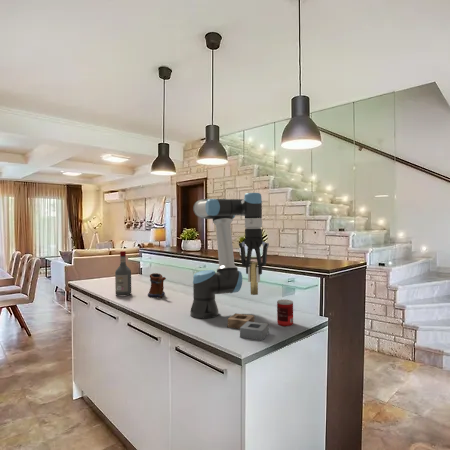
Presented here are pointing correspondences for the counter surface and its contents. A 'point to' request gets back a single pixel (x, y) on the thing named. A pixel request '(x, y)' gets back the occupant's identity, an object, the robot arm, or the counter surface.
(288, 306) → the canned food
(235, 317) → the block
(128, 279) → the liquor
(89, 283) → the counter surface
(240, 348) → the counter surface
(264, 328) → the socket block
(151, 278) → the mug
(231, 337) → the counter surface
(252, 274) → the lock pin
